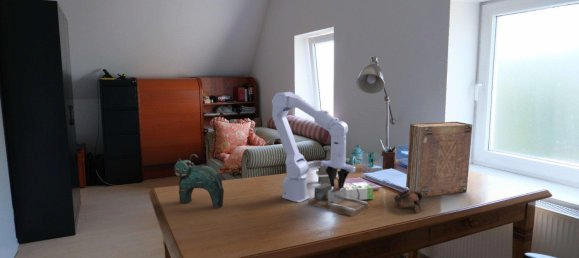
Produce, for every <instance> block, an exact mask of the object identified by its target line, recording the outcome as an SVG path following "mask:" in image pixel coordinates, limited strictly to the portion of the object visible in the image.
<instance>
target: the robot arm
mask: <svg viewBox="0 0 579 258" xmlns="http://www.w3.org/2000/svg"><path fill="white" fill-rule="evenodd" d="M271 105H272V110H271V111H272V113H271V116H272V117H271V118H272V120H273V123H274V125H275V128H276V131H277V133H278V137H279V139H280V142H281V145H282V147H283V150H284V153H285V156H286V159H285V163H284V164H285V167H286V169H285V170H286V176H285V177H284V178H283V181H282V196H281V198H282V199H285V200H288V201H292V202H295V203H302V202H304V201H306V200H307V201H308V200H309V199H312V197H311V196H310V195H307V176H308V175H307V174H308V172H309V170H310V165H309V163H308V161H307V160H306V159H305V157H304V155H303V154H302V153H300V151H299V148H298V145H297V143H296V139H295V137H294V134H293V132H292V131H293V130H292V128H291V126H290V124H289V121H288V117H287V115H289V112H290V111H291V109H293V108H294V109H298V110H299V111H301V112H304V113H305V114H307V115H308V116H310V117H312V118H313V120H314V123H316V124H317V125H318V126H320V127H322V129H324V130H325V131H328V133H329V135H330V137H331V139H330V160H321V161H320V163H321V166H325V167H328V168H327V169H326V172H327V174H328V176H329V179H330V183H331V187H332V188H333V182H334V177H339V188H340V189H341V188H343V186H344V184H346V183H345V182H346V180H347V177H348V175H349V174H350V173H355V172H356V166H355V165H351V164H348V163H346V157H347V134H348V132H349V126H348V123H346V121H345V120H339V118H338V117H335V116H333V115H331V114H330V112H329V110H323V109H321V110H318V109H317V108H316V107H315V106H313V105H311V104H310V103H309V102H308V101H306V100H305V99H303V98H302V97H301V96H300V95H298V94H296V93H295V92H294V91H286V92H285V91H284V92H277V93H275V94H274V96H273V98H272V100H271ZM336 174H338V176H336Z"/></svg>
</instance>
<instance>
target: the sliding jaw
mask: <svg viewBox="0 0 579 258" xmlns="http://www.w3.org/2000/svg"><path fill="white" fill-rule="evenodd" d="M343 200H346V188H345V187H343V188H341V189H340V188H339V177H338V176H336V177H334V182H333V187H332V189H331V190H329V191H328V203H329V202H331V203H334V204H337V203H339V202H341V201H343Z"/></svg>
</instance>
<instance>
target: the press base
mask: <svg viewBox="0 0 579 258" xmlns="http://www.w3.org/2000/svg"><path fill="white" fill-rule="evenodd" d="M313 188H314V194H313V196H314V197H311V198H309V199H307V204H309V205H312V206H315V207H319V208H322V209H326V210H329V211H333V212H336V213H338V214H339V213H340V214H343V215H347V216H350V217H354V216H355V215H357V214H359V213H360V212H363V211H364V210H366V209H368V208H369V202H367V201H364V200H357V199H353V198H349V197H346V200H343V201H341V202H339V203H337V204H334V203H331V202H329V203H328V199H327V198H326V193H327V192H328V191H329V190H331V189H333V187H331V184H328V183H325V184H322V185H321V184H319V185H318V186H315V187H313Z"/></svg>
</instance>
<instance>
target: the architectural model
mask: <svg viewBox="0 0 579 258" xmlns="http://www.w3.org/2000/svg"><path fill="white" fill-rule="evenodd" d="M319 165H320V166H319V167H318V170H316V171H315V174H316V175H317V177H318V178H317V180H318V181H317V182H318V183H320V185H322V184H325V183H328V184H331V183H330V179H329V176H328V174H327V172H326V169H327V168H328V167H325V166H321V162H320V163H319ZM336 177H338V173H337V174H336Z"/></svg>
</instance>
